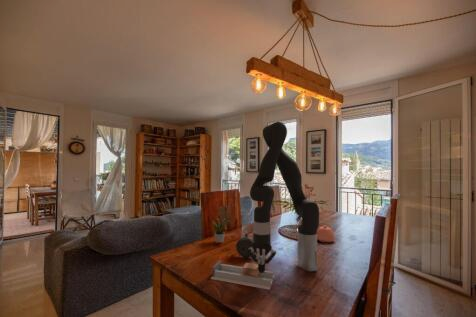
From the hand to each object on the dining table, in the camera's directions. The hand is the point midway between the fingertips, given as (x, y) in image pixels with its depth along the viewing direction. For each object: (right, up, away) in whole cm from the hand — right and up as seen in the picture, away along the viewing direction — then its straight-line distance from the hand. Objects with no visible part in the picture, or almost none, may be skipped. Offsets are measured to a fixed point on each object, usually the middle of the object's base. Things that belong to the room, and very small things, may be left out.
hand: (261, 272), depth 94 cm
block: (-4, -4, +2) cm, 6 cm away
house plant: (-21, -7, +51) cm, 56 cm away
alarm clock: (-6, -6, +25) cm, 26 cm away
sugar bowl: (+49, -8, +56) cm, 75 cm away
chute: (-8, -5, +3) cm, 10 cm away
